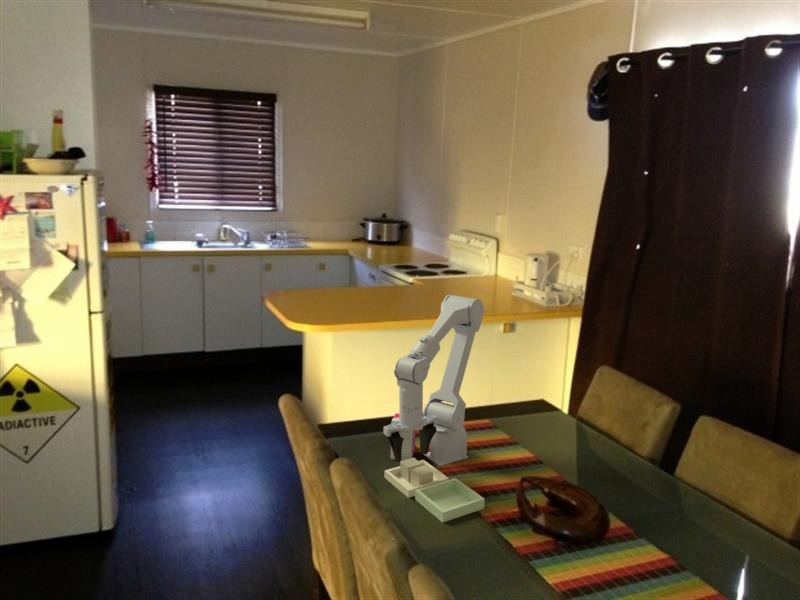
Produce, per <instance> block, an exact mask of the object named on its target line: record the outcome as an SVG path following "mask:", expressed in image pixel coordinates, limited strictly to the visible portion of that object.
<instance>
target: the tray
mask: <svg viewBox="0 0 800 600" xmlns="http://www.w3.org/2000/svg"><path fill="white" fill-rule="evenodd" d="M418 461H419V462H420V463H422V466H426V467H427V468H428V469H430V470H431V471H432V472H433V481H432V482H429V483H425V484H422V485H419V486H415V487H413V486H412V485H411V482H409V483H408V482H407V481H406V480H405V479H403V478H402V477H401V476H400V465H399V466H397V467H396V466H395V467H392V468H389V469H385V470H384V479H386V480H387V481H388V482H389V483H391V484H392V486H394V487H395V488H396V489H397V490H398V491H400V492H401V493H402V494H403V495H404V496H405V497H406V498H407V499H410V498H413V497H415V490H417V489H420V488H424V487H427V486H430V485H434V484H437V483H440V482H444V481H447V480H450V478H449V477H448V476H446V475H445V474H444V473H443V472H441V471H440V470H438V469H437V468H436V467H434V466H433V465H431V464H430V463H429V462H427V461H426V460H425V459H421V460H418Z"/></svg>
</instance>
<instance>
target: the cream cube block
mask: <svg viewBox="0 0 800 600" xmlns="http://www.w3.org/2000/svg"><path fill="white" fill-rule="evenodd" d="M419 461H420V460H418V459H416V457H412V458H410V459H407V460H401V461H399V466H400V476H401V477H402V478H403V479H405V480H406V481H407V482H408V483H409V482H411V469H414V468H417V467H421V466H422V463H420V462H419Z"/></svg>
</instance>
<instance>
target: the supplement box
mask: <svg viewBox="0 0 800 600" xmlns="http://www.w3.org/2000/svg"><path fill="white" fill-rule="evenodd" d="M398 420H399V413H395V414H394V416H393V418H392V419H391V423H390V424H392V423H394V422H396V421H398ZM399 434H400V436H401V437H402V438H403V439H404V440H403V443H402V450H401V461H403V460H407V459H410V458H414V455H415V453H416V430H407V431H403V432H399ZM390 460H392V461H397V460H396V459H395V458H394V453H393V450H392V447H391V446H390Z"/></svg>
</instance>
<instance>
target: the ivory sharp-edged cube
mask: <svg viewBox="0 0 800 600" xmlns="http://www.w3.org/2000/svg"><path fill="white" fill-rule="evenodd" d="M432 481H433V472H432V471H431V470H430V469H428V468H427V467H426V466H421V467H417V468H414V469H411V485H412V486H413V487H415V486H419V485H422V484H425V483H429V482H432Z"/></svg>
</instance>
